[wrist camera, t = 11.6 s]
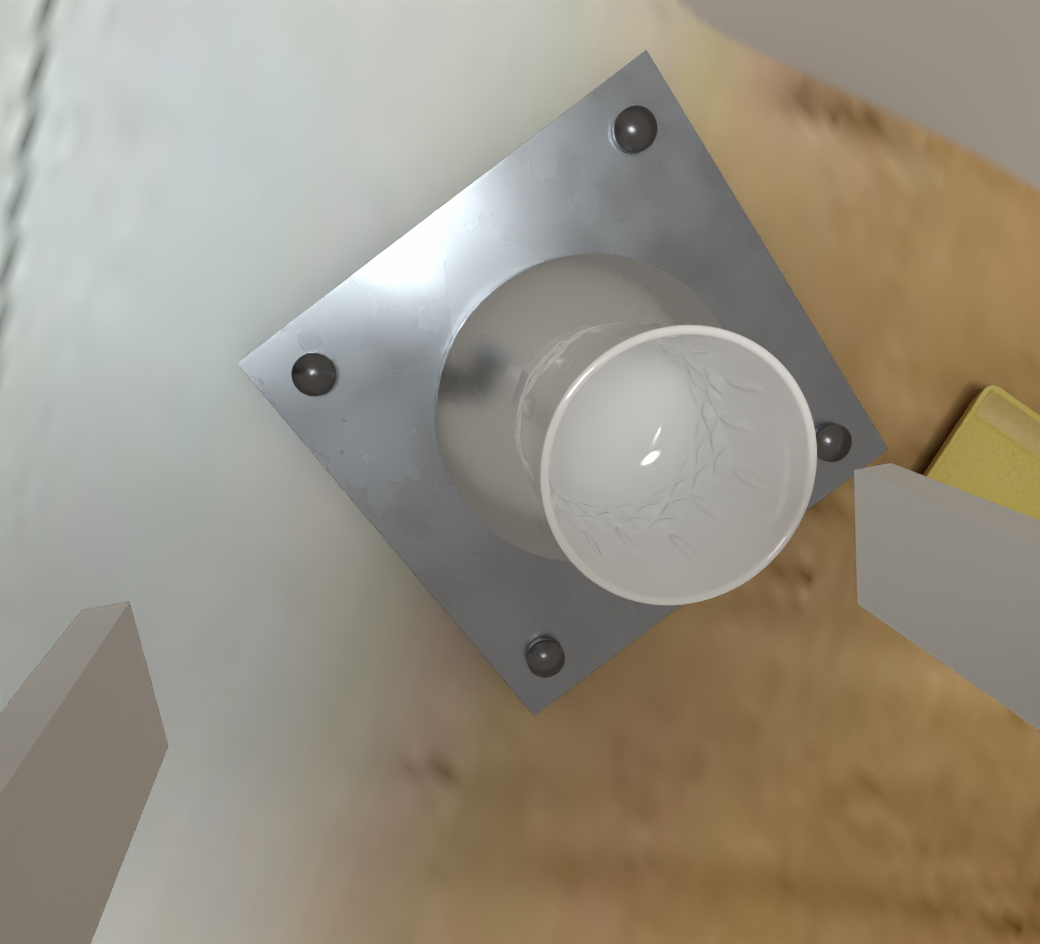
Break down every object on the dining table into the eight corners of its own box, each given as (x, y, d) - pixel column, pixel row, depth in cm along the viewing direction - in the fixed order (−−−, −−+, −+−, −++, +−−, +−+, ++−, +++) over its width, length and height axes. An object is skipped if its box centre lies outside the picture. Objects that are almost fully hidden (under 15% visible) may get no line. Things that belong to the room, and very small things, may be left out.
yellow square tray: (850, 539, 39) (875, 554, 37) (960, 374, 38) (992, 380, 36) (986, 622, 41) (1017, 640, 39) (1093, 467, 40) (1131, 478, 38)
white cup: (480, 325, 32) (521, 349, 22) (684, 294, 33) (810, 304, 23) (510, 526, 34) (560, 629, 24) (702, 492, 35) (824, 578, 25)
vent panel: (240, 361, 33) (231, 366, 31) (640, 55, 32) (656, 41, 30) (530, 706, 38) (538, 730, 36) (877, 445, 37) (904, 455, 36)
